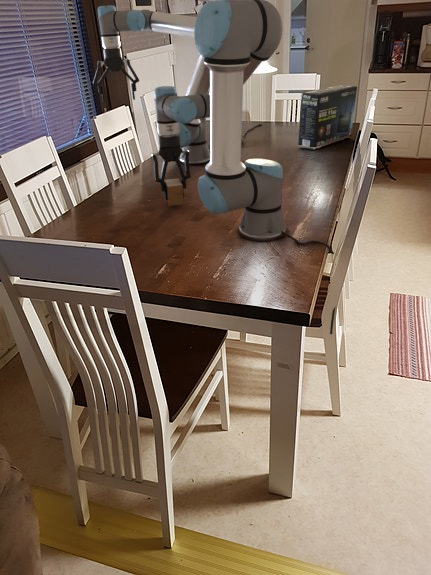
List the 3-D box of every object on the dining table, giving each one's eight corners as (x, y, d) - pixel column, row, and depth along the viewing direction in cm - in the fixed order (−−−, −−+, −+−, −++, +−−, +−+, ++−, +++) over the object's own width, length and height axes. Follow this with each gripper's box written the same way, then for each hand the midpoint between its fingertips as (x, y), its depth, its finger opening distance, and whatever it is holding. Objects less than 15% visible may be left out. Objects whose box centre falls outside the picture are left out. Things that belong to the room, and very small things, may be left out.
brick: (165, 198, 176) (163, 179, 172) (179, 196, 177) (178, 178, 173) (169, 205, 169) (167, 186, 165) (184, 204, 170) (182, 184, 166)
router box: (314, 151, 231) (318, 94, 217) (296, 148, 237) (299, 92, 224) (352, 138, 251) (358, 85, 238) (335, 135, 258) (340, 83, 245)
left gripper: (82, 49, 191) (91, 103, 202) (141, 46, 196) (147, 99, 207) (81, 48, 197) (90, 101, 208) (139, 45, 203) (145, 97, 213)
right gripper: (143, 139, 155) (151, 204, 167) (197, 134, 159) (200, 198, 171) (141, 134, 161) (148, 197, 173) (192, 129, 165) (196, 191, 177)
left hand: (118, 100), depth 208 cm, fingers open, 13 cm apart
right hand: (174, 198), depth 172 cm, fingers closed on brick, 5 cm apart
